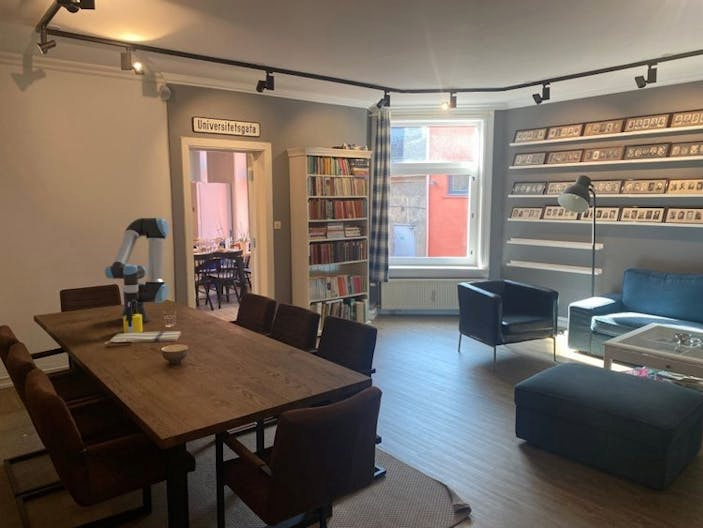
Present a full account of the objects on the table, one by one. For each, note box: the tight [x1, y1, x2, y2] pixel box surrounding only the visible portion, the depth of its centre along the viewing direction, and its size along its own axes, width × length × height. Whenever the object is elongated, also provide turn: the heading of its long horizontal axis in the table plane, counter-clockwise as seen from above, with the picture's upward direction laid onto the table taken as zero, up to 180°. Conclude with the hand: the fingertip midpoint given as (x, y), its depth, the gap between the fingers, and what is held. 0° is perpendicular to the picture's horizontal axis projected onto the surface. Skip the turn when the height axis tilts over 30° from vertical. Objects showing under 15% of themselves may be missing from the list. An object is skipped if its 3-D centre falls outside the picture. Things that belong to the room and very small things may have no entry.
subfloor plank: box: [109, 330, 182, 344], centre depth 289 cm, size 16×34×2 cm, turn 98°
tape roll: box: [122, 314, 143, 333], centre depth 303 cm, size 10×10×9 cm
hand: (133, 329), depth 303 cm, fingers closed on tape roll, 10 cm apart
